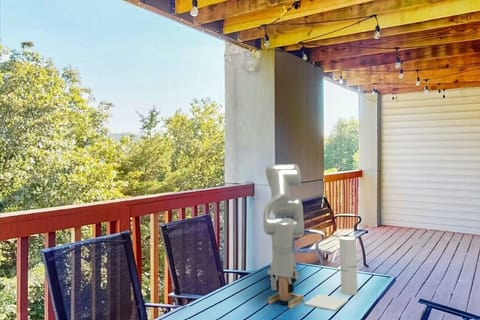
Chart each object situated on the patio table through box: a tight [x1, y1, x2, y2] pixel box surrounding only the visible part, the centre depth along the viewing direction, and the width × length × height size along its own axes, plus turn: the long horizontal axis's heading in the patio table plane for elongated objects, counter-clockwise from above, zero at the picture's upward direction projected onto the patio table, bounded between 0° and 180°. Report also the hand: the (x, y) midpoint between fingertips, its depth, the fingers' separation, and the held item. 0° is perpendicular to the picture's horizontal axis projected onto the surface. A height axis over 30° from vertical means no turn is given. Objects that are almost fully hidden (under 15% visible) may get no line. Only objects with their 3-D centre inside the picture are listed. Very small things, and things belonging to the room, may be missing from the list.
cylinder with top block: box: [278, 276, 291, 302], centre depth 172 cm, size 5×6×10 cm
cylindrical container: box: [339, 236, 358, 296], centre depth 182 cm, size 7×7×25 cm
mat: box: [303, 293, 349, 312], centre depth 170 cm, size 14×14×1 cm
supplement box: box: [269, 262, 278, 292], centre depth 191 cm, size 7×7×13 cm
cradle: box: [267, 291, 304, 310], centre depth 172 cm, size 11×11×2 cm
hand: (285, 290), depth 172 cm, fingers closed on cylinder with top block, 5 cm apart
